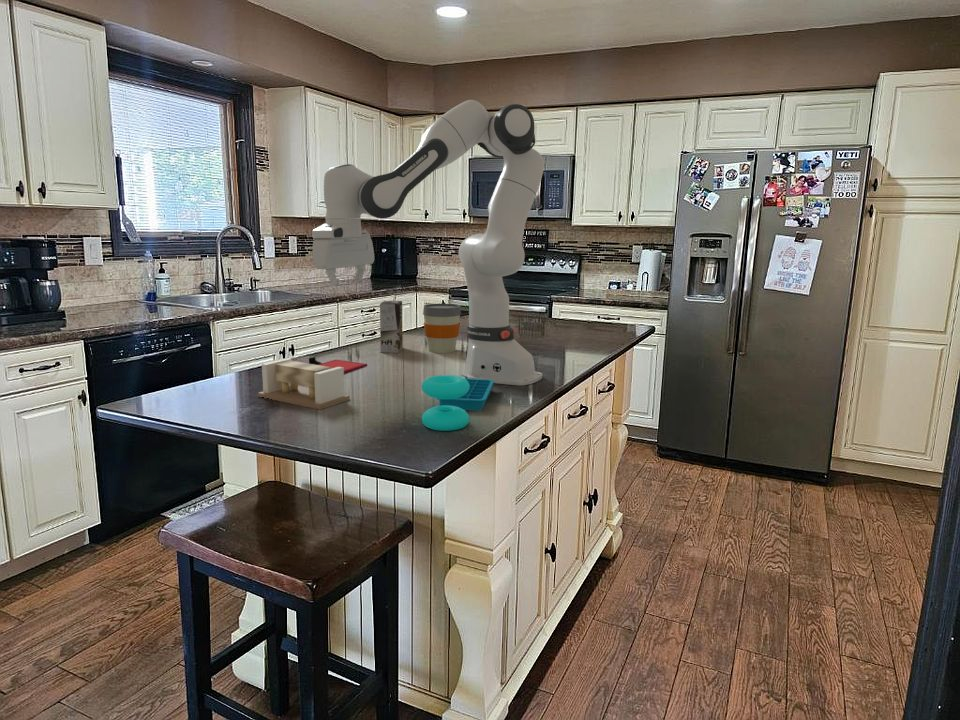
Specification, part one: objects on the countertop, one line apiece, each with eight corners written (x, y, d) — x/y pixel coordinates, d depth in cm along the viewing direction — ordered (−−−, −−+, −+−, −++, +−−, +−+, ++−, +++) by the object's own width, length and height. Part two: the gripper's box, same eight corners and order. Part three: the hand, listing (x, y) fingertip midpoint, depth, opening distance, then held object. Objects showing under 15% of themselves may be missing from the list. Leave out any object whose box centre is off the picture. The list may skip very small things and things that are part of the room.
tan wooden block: (276, 380, 154) (275, 364, 153) (291, 376, 158) (291, 360, 157) (316, 388, 148) (315, 371, 147) (331, 383, 152) (330, 367, 151)
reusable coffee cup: (427, 346, 221) (427, 302, 218) (463, 347, 219) (463, 304, 216) (419, 353, 209) (419, 307, 205) (457, 354, 207) (457, 308, 204)
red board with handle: (255, 382, 168) (301, 390, 163) (255, 372, 168) (301, 379, 162) (325, 362, 195) (367, 368, 190) (325, 353, 195) (367, 359, 189)
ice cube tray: (494, 390, 165) (494, 379, 164) (484, 413, 145) (484, 400, 144) (449, 388, 166) (449, 377, 165) (434, 410, 146) (434, 398, 146)
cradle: (349, 399, 153) (348, 367, 151) (319, 409, 145) (318, 375, 143) (289, 388, 163) (287, 357, 161) (258, 396, 154) (256, 364, 153)
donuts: (476, 376, 136) (458, 387, 127) (476, 421, 138) (458, 435, 129) (434, 372, 139) (413, 382, 130) (434, 416, 141) (413, 429, 132)
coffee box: (399, 353, 208) (399, 303, 205) (379, 352, 208) (379, 303, 205) (403, 347, 217) (402, 300, 214) (384, 347, 217) (383, 300, 214)
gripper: (360, 229, 175) (362, 279, 178) (306, 231, 157) (310, 287, 160) (378, 229, 172) (381, 280, 175) (326, 231, 154) (330, 288, 157)
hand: (347, 284), depth 167 cm, fingers open, 8 cm apart
